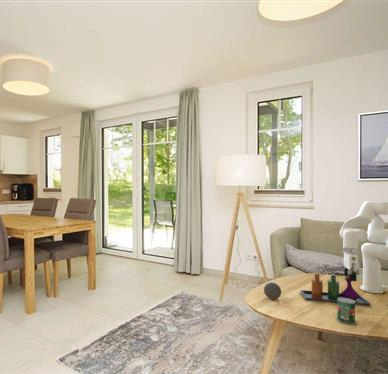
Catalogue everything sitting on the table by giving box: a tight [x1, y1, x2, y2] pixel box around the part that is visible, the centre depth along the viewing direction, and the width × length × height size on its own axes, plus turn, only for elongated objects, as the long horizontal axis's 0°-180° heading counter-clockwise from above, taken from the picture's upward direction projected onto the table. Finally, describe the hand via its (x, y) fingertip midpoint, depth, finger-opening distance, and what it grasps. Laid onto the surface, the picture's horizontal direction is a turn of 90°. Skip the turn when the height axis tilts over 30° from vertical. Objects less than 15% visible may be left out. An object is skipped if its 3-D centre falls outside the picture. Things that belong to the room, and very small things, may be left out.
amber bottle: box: [311, 272, 324, 299], centre depth 190 cm, size 6×6×15 cm
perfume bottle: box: [339, 270, 361, 301], centre depth 185 cm, size 8×8×18 cm
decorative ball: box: [263, 282, 282, 300], centre depth 190 cm, size 10×10×10 cm
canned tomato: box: [336, 297, 356, 325], centre depth 160 cm, size 8×8×11 cm
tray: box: [300, 289, 371, 307], centre depth 188 cm, size 34×14×2 cm, turn 74°
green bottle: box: [327, 273, 340, 300], centre depth 187 cm, size 6×6×15 cm
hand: (350, 278), depth 185 cm, fingers open, 8 cm apart
